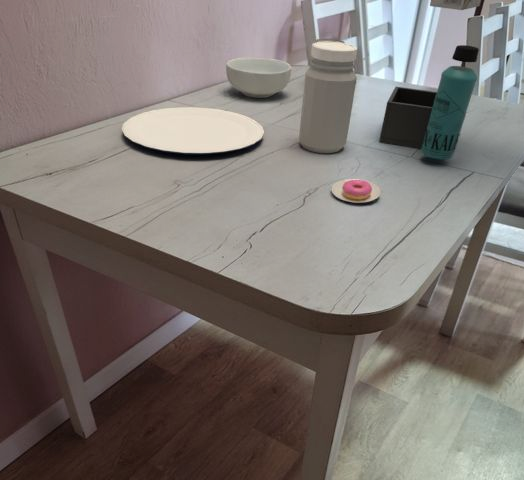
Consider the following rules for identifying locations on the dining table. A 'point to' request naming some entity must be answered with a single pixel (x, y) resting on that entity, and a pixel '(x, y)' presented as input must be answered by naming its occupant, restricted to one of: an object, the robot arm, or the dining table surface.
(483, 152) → the dining table surface
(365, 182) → the donut
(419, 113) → the basket
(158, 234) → the dining table surface
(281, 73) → the cereal bowl
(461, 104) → the teal pump bottle
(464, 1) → the coffee box
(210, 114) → the plate
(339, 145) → the jar
